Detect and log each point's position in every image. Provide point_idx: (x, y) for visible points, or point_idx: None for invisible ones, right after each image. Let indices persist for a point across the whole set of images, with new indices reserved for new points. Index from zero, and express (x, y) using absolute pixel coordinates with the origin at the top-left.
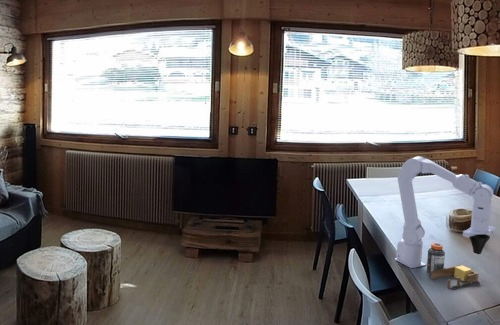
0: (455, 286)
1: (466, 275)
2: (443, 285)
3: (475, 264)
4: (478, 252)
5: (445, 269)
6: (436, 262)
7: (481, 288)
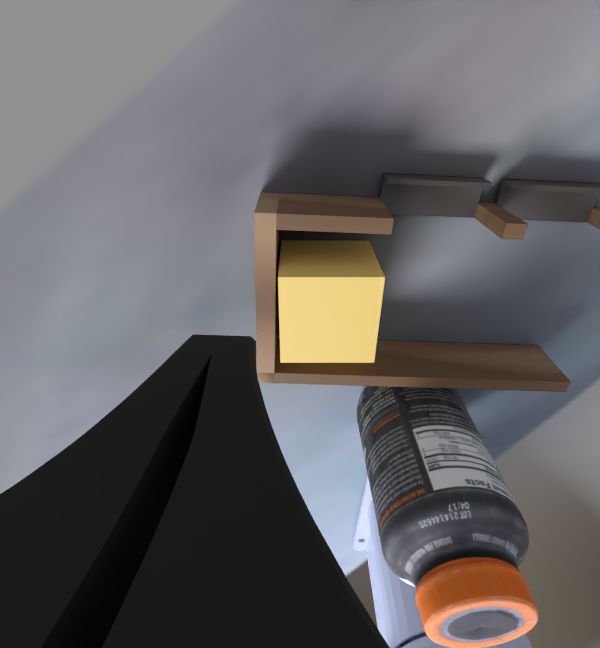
0: (574, 185)
1: (345, 258)
2: (575, 256)
3: (37, 378)
4: (253, 358)
5: (431, 375)
6: (484, 448)
7: (367, 73)
